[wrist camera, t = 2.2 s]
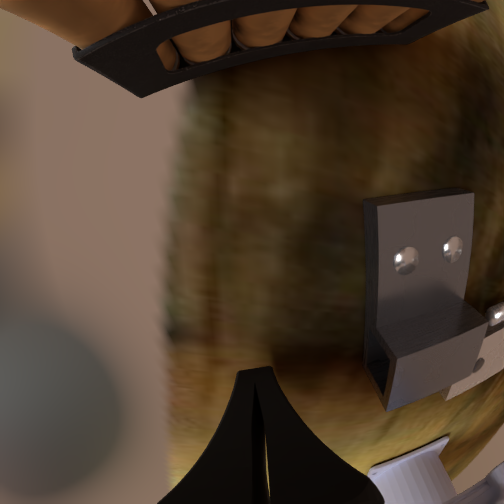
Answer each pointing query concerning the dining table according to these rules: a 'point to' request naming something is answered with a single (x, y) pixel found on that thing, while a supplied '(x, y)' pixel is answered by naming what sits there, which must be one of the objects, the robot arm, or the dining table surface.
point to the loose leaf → (419, 294)
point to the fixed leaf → (484, 354)
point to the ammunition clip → (225, 31)
